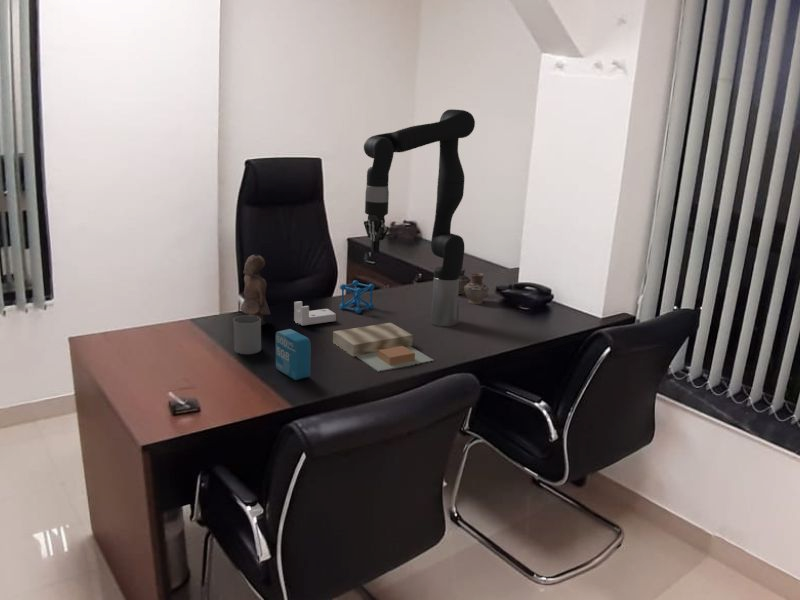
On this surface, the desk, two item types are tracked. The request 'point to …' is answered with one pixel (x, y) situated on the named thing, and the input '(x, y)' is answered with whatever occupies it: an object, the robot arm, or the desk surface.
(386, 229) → the robot arm
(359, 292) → the molecular structure
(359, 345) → the light wood flat block
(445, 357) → the desk surface
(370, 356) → the mat
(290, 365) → the data package
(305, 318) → the bracket
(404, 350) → the tile
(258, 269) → the clay figurine
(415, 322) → the desk surface
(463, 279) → the pottery
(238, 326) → the cup
